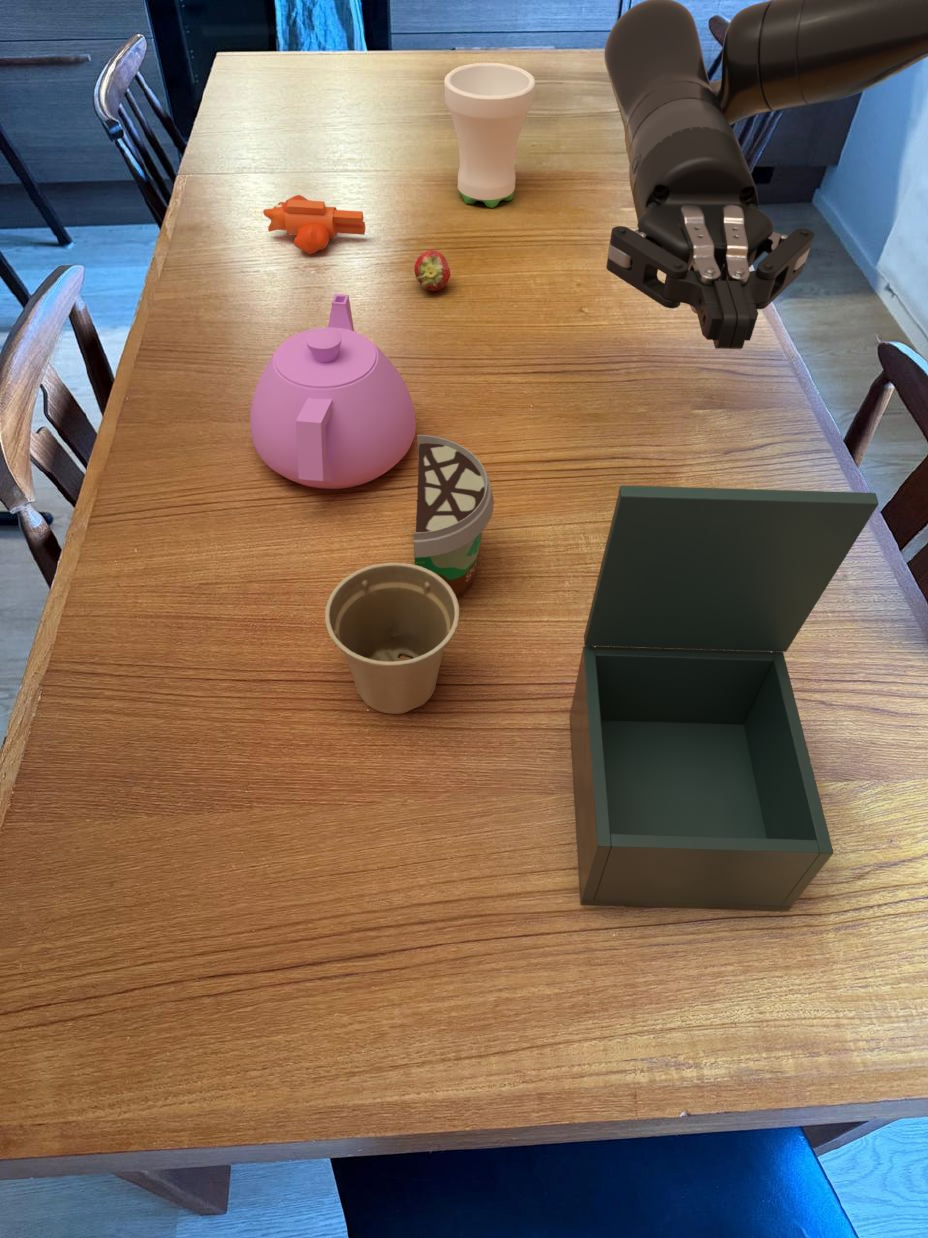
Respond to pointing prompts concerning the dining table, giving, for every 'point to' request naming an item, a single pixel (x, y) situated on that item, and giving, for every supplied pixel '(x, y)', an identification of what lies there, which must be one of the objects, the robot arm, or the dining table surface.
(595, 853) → the caddy
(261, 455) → the teapot
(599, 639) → the lid
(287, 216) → the orange long irregular piece
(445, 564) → the food container
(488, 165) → the cup
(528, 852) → the dining table surface
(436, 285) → the fruit
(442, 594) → the flower pot
